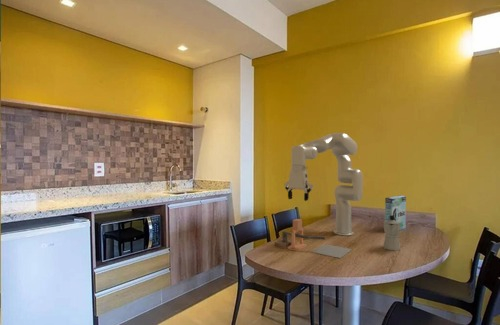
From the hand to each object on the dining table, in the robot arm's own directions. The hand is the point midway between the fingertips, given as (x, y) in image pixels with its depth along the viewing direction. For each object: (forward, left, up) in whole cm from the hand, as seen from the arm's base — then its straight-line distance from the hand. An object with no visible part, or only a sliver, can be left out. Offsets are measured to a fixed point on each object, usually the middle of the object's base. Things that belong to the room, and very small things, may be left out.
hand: (298, 199), depth 157 cm
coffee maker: (-32, +41, -27) cm, 58 cm away
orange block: (0, 0, -27) cm, 27 cm away
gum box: (-77, +34, -27) cm, 88 cm away
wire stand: (0, +1, -26) cm, 27 cm away
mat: (-6, +17, -27) cm, 32 cm away
